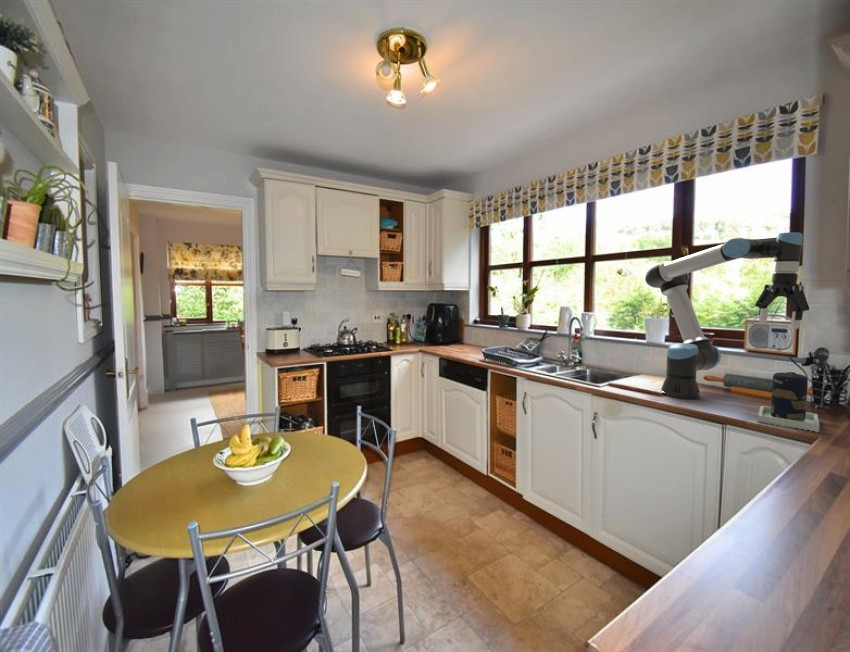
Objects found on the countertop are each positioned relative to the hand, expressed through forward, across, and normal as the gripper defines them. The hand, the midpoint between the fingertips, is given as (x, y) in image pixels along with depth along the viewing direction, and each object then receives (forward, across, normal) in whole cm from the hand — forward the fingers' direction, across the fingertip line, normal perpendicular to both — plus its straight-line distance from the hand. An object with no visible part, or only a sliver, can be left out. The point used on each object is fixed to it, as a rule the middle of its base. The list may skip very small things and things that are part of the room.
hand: (777, 326), depth 158 cm
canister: (+33, -16, +8) cm, 38 cm away
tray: (+33, -17, +8) cm, 38 cm away
